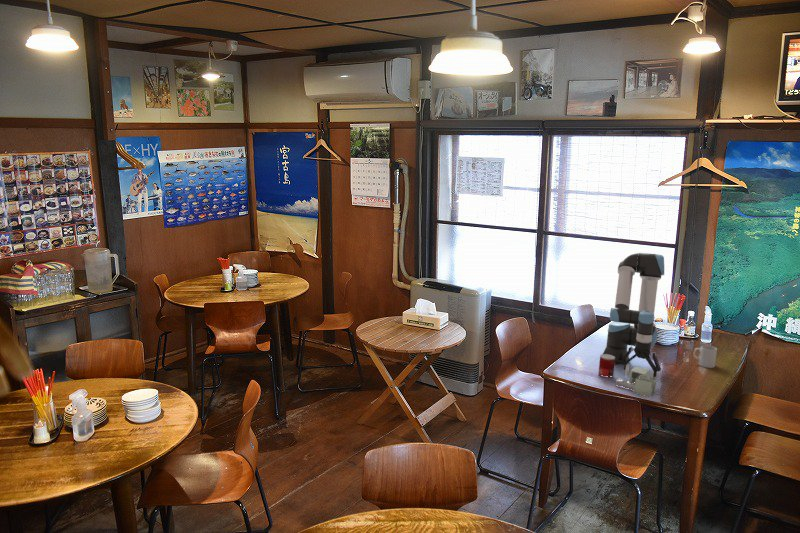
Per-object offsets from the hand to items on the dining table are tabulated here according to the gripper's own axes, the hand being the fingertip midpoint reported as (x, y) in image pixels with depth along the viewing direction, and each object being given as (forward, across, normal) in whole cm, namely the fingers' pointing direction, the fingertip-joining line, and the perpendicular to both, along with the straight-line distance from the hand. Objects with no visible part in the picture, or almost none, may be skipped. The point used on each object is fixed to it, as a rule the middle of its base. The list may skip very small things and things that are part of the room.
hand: (639, 379), depth 332 cm
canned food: (+3, -18, 0) cm, 18 cm away
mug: (+2, +18, +57) cm, 60 cm away
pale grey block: (+3, +1, -10) cm, 10 cm away
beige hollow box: (+3, 0, 0) cm, 3 cm away
